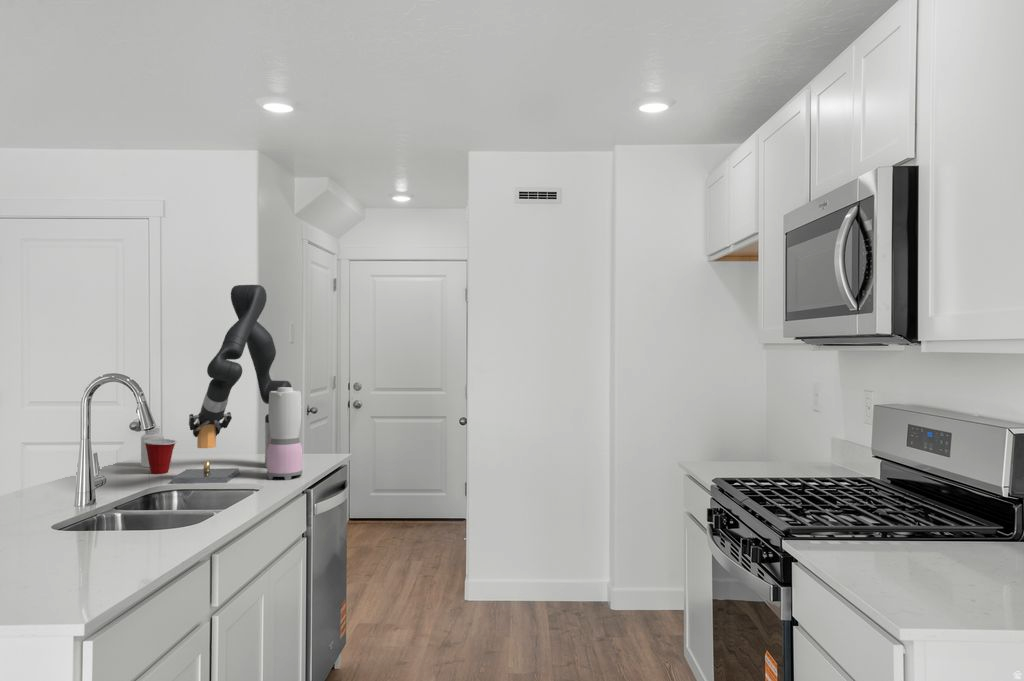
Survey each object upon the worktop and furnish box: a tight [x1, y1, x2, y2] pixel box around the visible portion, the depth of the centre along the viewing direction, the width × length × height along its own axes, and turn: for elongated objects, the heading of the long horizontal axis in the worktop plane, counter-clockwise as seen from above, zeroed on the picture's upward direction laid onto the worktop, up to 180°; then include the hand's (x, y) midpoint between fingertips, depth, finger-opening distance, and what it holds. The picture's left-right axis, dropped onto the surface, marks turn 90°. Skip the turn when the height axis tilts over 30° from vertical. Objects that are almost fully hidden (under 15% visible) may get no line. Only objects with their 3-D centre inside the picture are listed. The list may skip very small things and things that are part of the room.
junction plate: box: [171, 460, 240, 485], centre depth 252 cm, size 16×18×6 cm
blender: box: [266, 387, 303, 481], centre depth 257 cm, size 16×12×32 cm
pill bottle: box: [140, 425, 165, 468], centre depth 276 cm, size 8×8×15 cm
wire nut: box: [196, 424, 217, 449], centre depth 252 cm, size 6×6×10 cm
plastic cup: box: [144, 438, 178, 475], centre depth 262 cm, size 11×11×12 cm
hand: (205, 434), depth 253 cm, fingers closed on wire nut, 6 cm apart
